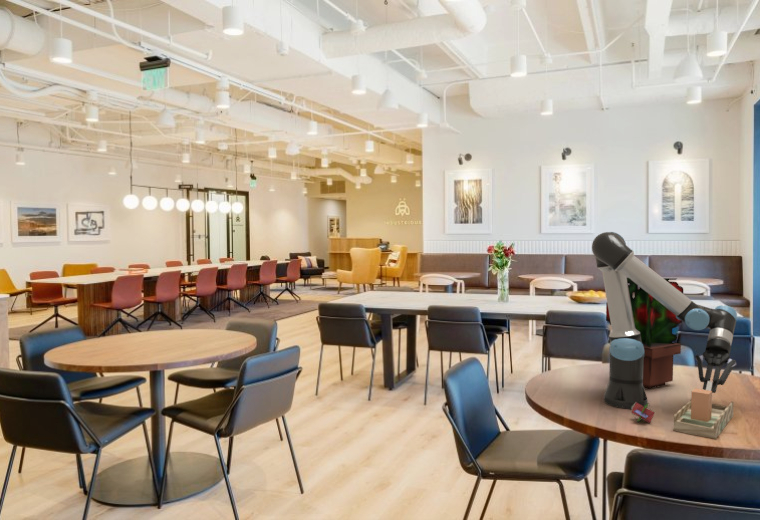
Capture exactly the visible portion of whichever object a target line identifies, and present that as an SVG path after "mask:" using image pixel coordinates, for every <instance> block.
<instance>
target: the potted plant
mask: <svg viewBox="0 0 760 520" xmlns="http://www.w3.org/2000/svg"><path fill="white" fill-rule="evenodd" d="M662 278H663V279H665V280H666V281H667V282H669V283H670V284H671V285H672V286H674V287H675V288H676V289H677V290H679V291H680V292H681V293H683V294H684V287H682V286H681V285H679V283H678V282H677V281H676V280H677V278H674V277H673V278H671V277H669V278H667V277H666V278H665V277H662ZM671 280H673V281H671ZM627 283H628V284H629V285H628V289H629V295H630V301H631V306H632V312H633V318H634V324H635V328H636V329H637V330H638V331H639V332H640V334H641V339H642V344H643V347H644V360H643V386H644V389H645V390H646V389H647V390H651V389H654V388H659V387H663V386H664V387H665V386H666V383H670V382H673V381H674V356H675V355H680V354H682V353H681V352H682V351H681V350H682V348H681V347H682V345H681V343H677V342H676V343H675V341H677V339H678V336H677V335H676V334H674V333H673V329H675V328H677V327H678V325H680V324H682V323H683V321H682V320H679V319H677V318H676V315H675V314H674V313H672V312H671V311H670V310H668V309H667V308H666V307H665V306H663V305H662V304H661V303H660V302H658V301H657V300H656V299H655V298H653V297H652V296H651V295H650V294H648V293H647V292H646V291H645V290H643V289H642V288H641V287H640V286H638V285H637V284H636V283H635V282H633V281H632V280H631V279H629V278H628V277H627ZM633 294H634V296H633ZM605 306H606V307H605V309H606V311H605V320H606V321H607V322H609V324H610V326H611V321H610V315H609V309H608V304H607V301H606V305H605Z"/></svg>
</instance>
